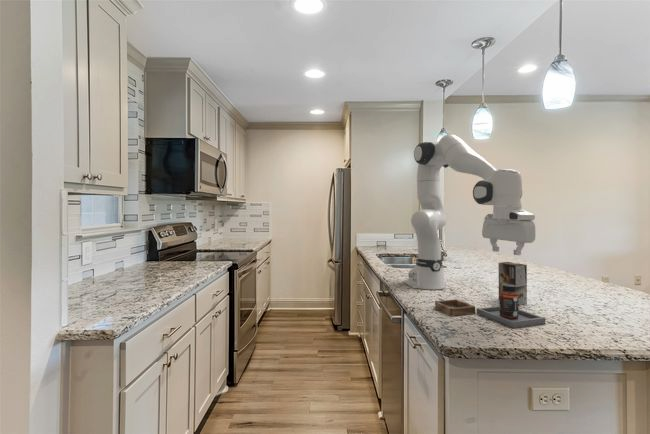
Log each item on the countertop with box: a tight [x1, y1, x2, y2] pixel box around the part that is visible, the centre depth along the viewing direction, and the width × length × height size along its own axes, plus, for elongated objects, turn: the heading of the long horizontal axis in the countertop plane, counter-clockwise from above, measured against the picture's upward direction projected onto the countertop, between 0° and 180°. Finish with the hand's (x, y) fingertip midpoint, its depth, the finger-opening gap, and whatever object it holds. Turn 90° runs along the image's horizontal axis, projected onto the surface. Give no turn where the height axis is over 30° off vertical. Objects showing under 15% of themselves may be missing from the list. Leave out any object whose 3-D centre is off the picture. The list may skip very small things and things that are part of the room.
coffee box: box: [498, 261, 528, 305], centre depth 139 cm, size 9×6×16 cm
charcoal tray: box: [476, 305, 546, 329], centre depth 118 cm, size 16×14×2 cm
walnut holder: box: [434, 299, 476, 317], centre depth 128 cm, size 11×11×2 cm
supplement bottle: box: [499, 284, 520, 319], centre depth 118 cm, size 6×6×11 cm
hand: (506, 253), depth 118 cm, fingers open, 8 cm apart
